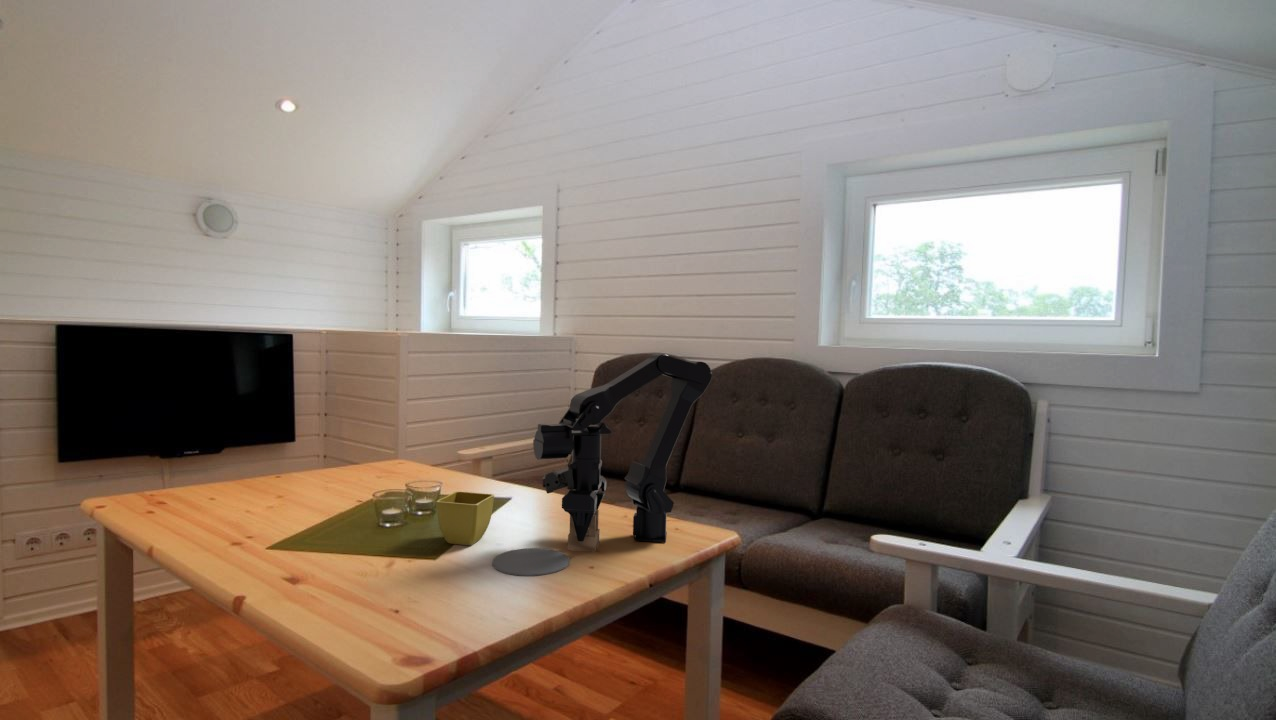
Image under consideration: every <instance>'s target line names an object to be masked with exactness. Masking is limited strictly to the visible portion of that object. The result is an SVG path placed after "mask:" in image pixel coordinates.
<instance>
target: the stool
mask: <svg viewBox="0 0 1276 720" xmlns="http://www.w3.org/2000/svg"><path fill="white" fill-rule="evenodd" d="M599 512H600V509H598V510H596V511H595V513H594V516H593V518H592V521H591V523H590V526H589V528H588V531H587V534H586V536H585V539H584V541H583V542H582V541H578V540H577V535H576V531H575V526H574V522H573V518H572V516H571V515H570V514H569V532H568V535H567V550H568V551H577V552H580V551H581V552H596V551H597V549H598V547H599V545H598V544H600V530H601V529H600V528H599V518H600V517H599V514H600V513H599Z"/></svg>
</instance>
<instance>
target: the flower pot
mask: <svg viewBox="0 0 1276 720" xmlns="http://www.w3.org/2000/svg"><path fill="white" fill-rule="evenodd" d="M494 498H495V494H494V493H493V494H492V493H482V492H481V493H480V492H472V491H471V492H469V491H453V492H452V493H450V494H448V495H446V496H444V497H442V498H439V499H437V500H436V501H435V506H436V514H437V515H436V516H437V522H438V526H439V530H440V532H441V534H442V537H443V538H444V539H445V541H446V542H447V543H448V544H451V545H460V546H461V545H462V546H463V545H464V546H472V545H474V544H475V543H477V542H478V541H480V540H481V539H482V538H483V536H484V535H485V534H486V532H487V530H488V527H489V525H490V523H491V519H492V514H493V507H494V500H495V499H494Z"/></svg>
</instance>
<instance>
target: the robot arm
mask: <svg viewBox="0 0 1276 720" xmlns="http://www.w3.org/2000/svg"><path fill="white" fill-rule="evenodd" d="M662 375H663V376H666V377H668V378H671V382H670V390H671V391H670V393H671V394H670V395H671V396H670V397H669V400H668V402H667V405H666V407H665V410H664V412H663V415H662V417H661V419H660V421H659V423H658V426H657V429H656V431H655V433H654V435H653V437H652V440H651V443H650V445H649V448H648V450H647V452H646V455H645V456H644V457H643V459H641V460H640V461H639V462H636V461H631V464H630V466H629V470H628V473H627V474H626V475H625V477H624V480H625V483H624V489H625V491H626V494H627V496H628V497H630V498H631V502H632V505H633V506H637V507H636V512H634V514H633V516H632V517H633V519H632V535H633V536H634V541H636V542H651V543H652V542H654V543H666V542H667V535H668V532H667V514H668V513H671V512H672V509H673V507H674V504H675V502H674V501H673V500H672V499H671V498H670V496H668V494H667V493H665V489H666V488H665V487H666V484H667V465H668V462H669V461H670V458H671V456H672V453H673V450H674V448H675V446H676V443H677V442H678V439H679V436H680V434H681V431H682V429H683V426H684V425H685V422H686V419H687V418H688V415H689V413H690V410H691V408H692V406H693V404H694V403H695V402H697V400H698V399H699V398H700V397H702V395H704V393H705V391H706V390H707V388H708V387H709V385H710V383H711V381H712V379H713V373H712V371H711V368H710V366H709V364H707V363H706V362H704V361H699V360H698V361H697V360H684V359H679V358H676V357H673V356H670V355H668V354H666V353H653V354H651V355H649V357H648V358H646V359H645V360H643V361H642V362H640V363H638V364H637V365H635V366H634V367H632V368H630V369H628V370H627V371H626V372H623V373H622V374H620V375H619V376H617V377H615V378H614V379H612V380H611V381H609V382H607V383H605V384H603V385H600V386H596V387H592V388H590V389H586V390H584V391H582V392H579V393H577V394H574V396H572V398H571V400H570V403H569V408H568V409H567V410H566V412H565V413H564V415H563V416H562V417H561V419H560V420H559V422H558V423H556V424H547V423H538V424H537V430H536V431H535V434H534V438H533V442H532V443H533V444H532V446H533V447H532V448H533V453H534V456H535V458H536V459H537V460H539V461H540V460H555V459H556V460H557V459H567V458H568V457H569V455H571V462H569V464H568V467H566V468H562V469H559V470H552V471H550V472H549V471H548V472H546V474H545V475H544V476H543V477H542V478H541V480H542V485H541V486H542V487H543V488H545V491H546V494H552V493H554V492H555V491H557V490H560V489H564V488H566V489H567V490H568V491H567V492H566V493H565V494H564V495H563V497H562V498H561V509H563V510H564V512H566V513H568V514H569V516H570V515H571V516H572V518H573V522H574V526H575V531H576V535H577V540H578V541H582V542H583V541H584V539H585V536H586V534H587V531H588V528H589V526H590V523H591V521H592V518H593V516H594V513H595V511H596V510H599V508H600V506H601V503H602V501H603V499H604V496H605V494H606V489H607V479H606V478H605V477H604V476H603V475H601V467H602V465H603V460H602V459H601V456H602V455H601V454H602V435H611V434H612V430H611V429H610V428H609V427H608V426H607V425H606V424H605V422H604V421H603V420H604V419H606V418H607V417H608V416H609V415H610V414H611V413H613V410H614V409H615V407H616V406H617V405H618V404H619V403H620V402H621V401H622V400H624V399H626V398H627V397H629V396H630V395H632V394H634V393H636V392H637V391H638V390H640V389H641V388H643V387H644V386H645V387H646V385H648V384H649V383H651V382H652V381H654V380H656V379H657V378H659V377H660V376H662ZM600 489H601V490H600Z"/></svg>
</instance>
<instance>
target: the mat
mask: <svg viewBox="0 0 1276 720" xmlns="http://www.w3.org/2000/svg"><path fill="white" fill-rule="evenodd" d="M569 565H570V557H569V556H568V555H567V554H566V553H563V552H562V551H559V550H555V549H549V548H541V547H539V548H537V547H532V548H529V547H528V548H527V547H526V548H519V549H517V548H516V549H512V550H509V551H505V552H502V553H500V554H498V555H496V556H495V557H494V558H493V559H492V566H493V568H494V569H495V570H497V571H498V572H501V573H502V574H503V573H504V574H507V575H511V576H512V575H513V576H521V577H522V576H523V577H526V576H527V577H535V576H543V575H545V576H546V575H551V574H554V573H557V572H560V571H563V570H564V569H565V570H566V568H567V567H568V566H569Z"/></svg>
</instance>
